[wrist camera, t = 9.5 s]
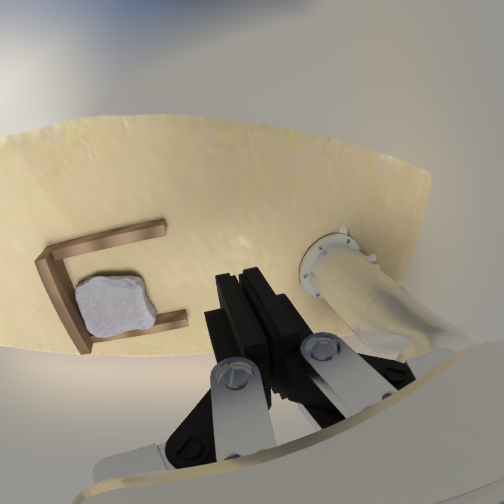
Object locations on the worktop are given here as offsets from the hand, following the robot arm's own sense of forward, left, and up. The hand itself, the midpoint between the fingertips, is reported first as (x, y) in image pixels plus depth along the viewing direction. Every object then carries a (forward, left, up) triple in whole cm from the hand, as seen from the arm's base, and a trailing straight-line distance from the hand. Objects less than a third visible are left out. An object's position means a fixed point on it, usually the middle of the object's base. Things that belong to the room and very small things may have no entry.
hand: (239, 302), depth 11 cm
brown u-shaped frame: (+12, +13, -27) cm, 33 cm away
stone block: (+15, +15, -28) cm, 35 cm away
